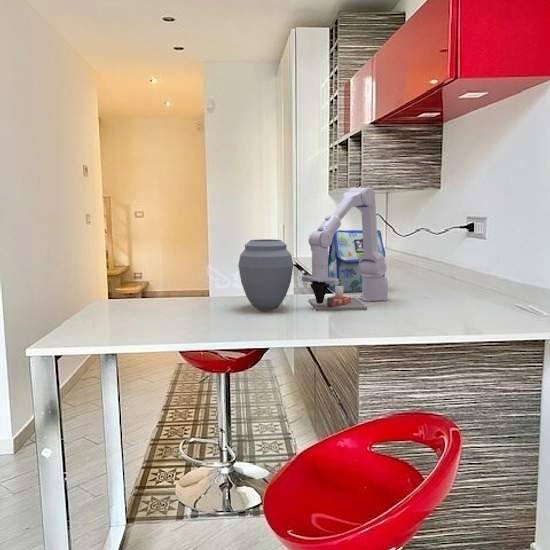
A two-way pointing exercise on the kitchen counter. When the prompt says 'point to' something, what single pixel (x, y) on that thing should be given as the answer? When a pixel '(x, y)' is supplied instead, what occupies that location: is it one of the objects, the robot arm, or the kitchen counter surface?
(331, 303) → the square frame with handle
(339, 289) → the station
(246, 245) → the vase
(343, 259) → the lunch bag
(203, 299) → the kitchen counter surface
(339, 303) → the tan tapered cylinder
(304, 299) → the kitchen counter surface
